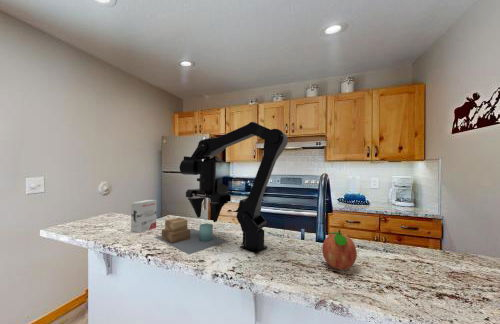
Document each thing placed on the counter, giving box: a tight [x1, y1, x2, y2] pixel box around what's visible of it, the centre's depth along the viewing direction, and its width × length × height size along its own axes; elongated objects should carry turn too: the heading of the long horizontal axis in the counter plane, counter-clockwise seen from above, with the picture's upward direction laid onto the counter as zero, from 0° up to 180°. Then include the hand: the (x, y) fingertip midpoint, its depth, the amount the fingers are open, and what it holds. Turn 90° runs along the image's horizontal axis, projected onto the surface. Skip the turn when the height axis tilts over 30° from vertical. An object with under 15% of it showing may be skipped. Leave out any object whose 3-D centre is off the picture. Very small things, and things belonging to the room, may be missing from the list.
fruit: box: [321, 229, 358, 271], centre depth 59 cm, size 9×10×10 cm
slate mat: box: [154, 228, 229, 255], centre depth 77 cm, size 22×16×1 cm
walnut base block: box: [161, 227, 191, 244], centre depth 77 cm, size 7×7×3 cm
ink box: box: [130, 199, 157, 234], centre depth 87 cm, size 8×5×12 cm, turn 160°
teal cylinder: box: [198, 223, 214, 242], centre depth 77 cm, size 5×5×5 cm
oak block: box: [164, 217, 188, 233], centre depth 77 cm, size 6×6×3 cm
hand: (206, 219), depth 77 cm, fingers open, 9 cm apart
